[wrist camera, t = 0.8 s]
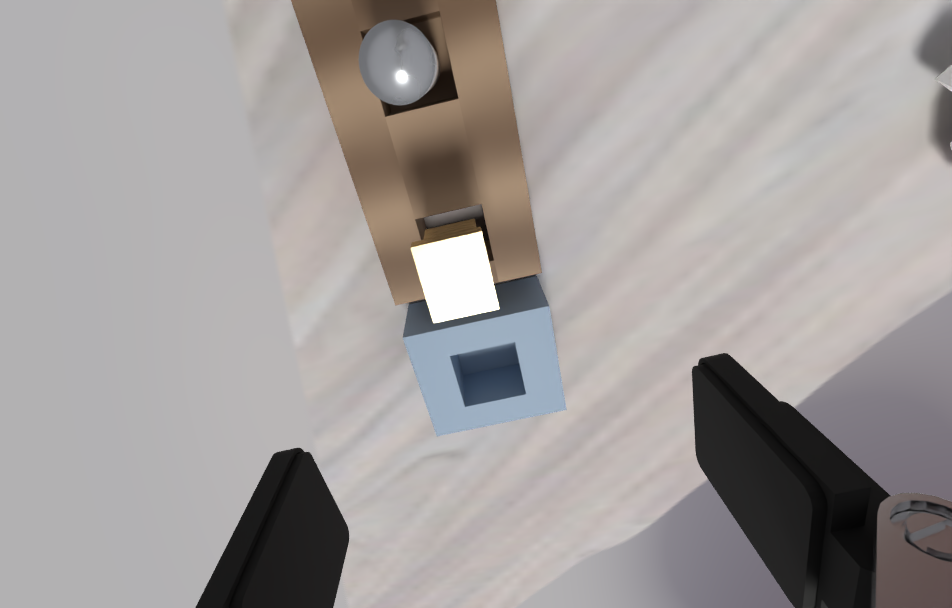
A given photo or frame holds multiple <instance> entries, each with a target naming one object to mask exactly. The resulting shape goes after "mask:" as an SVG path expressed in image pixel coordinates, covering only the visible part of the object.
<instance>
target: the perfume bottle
mask: <svg viewBox="0 0 952 608" xmlns="http://www.w3.org/2000/svg"><path fill="white" fill-rule="evenodd" d="M935 80H936V81H938V82H939V83H941V84H942V85H943V86H945V87H946V88H947V89H949V90H950V91H951V92H952V65H950V66H949V67H948V68H947V69H946V70H945V71H944V72H942V73H941V74H940V75H939V76H938V77H937V78H936V79H935ZM950 146H951V150H952V141H951V143H950Z"/></svg>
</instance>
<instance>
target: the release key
mask: <svg viewBox="0 0 952 608" xmlns="http://www.w3.org/2000/svg"><path fill="white" fill-rule="evenodd" d="M410 248H411V251H412V254H413V258H414V261H415V264H416V268H417V271H418V274H419V277H420V281H421V284H422V287H423V290H424V294H425V297H426V300H427V304H428V307H429V310H430V313H431V317H432V320H433V323H437V322H442V321H446V320H451V319H455V318H460V317H465V316H469V315H474V314H478V313H483V312H487V311H492V310H497V309H499V306H498V301H497V296H496V292H495V287H494V283H493V279H492V274H491V270H490V265H489V261H488V256H487V252H486V248H485V243H484V239H483V234H482V230H481V227H476V223H475V219H470V220H465V221H461V222H457V223H452V224H448V225H444V226H439V227H435V228H431V229H426V230H425V234H424V240H420V241H415V242H412V243H411V247H410Z"/></svg>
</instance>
